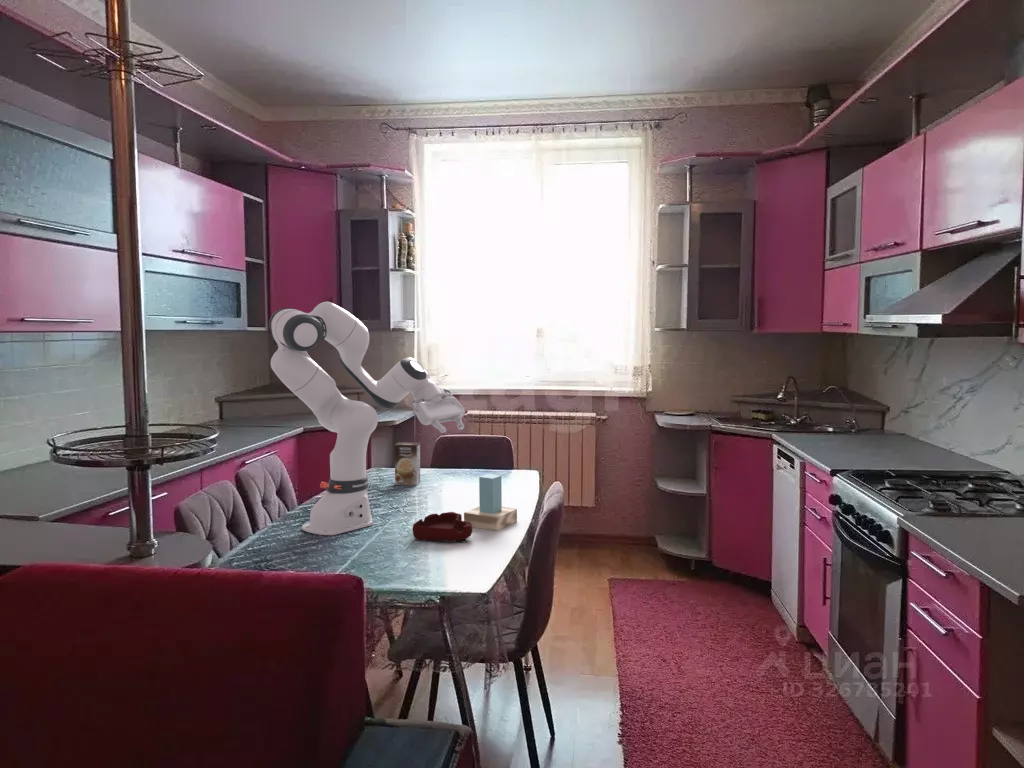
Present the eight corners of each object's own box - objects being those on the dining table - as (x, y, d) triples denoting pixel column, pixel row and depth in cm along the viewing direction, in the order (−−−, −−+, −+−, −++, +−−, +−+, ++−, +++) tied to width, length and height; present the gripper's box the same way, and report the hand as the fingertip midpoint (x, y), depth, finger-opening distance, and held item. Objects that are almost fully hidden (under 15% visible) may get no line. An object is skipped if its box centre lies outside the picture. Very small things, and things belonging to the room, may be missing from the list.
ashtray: (406, 532, 208) (405, 516, 208) (457, 526, 214) (457, 510, 214) (420, 550, 192) (420, 532, 191) (475, 543, 198) (475, 526, 197)
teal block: (492, 513, 213) (492, 478, 212) (479, 511, 215) (479, 476, 214) (501, 510, 217) (501, 475, 216) (488, 507, 220) (488, 473, 219)
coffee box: (394, 485, 269) (393, 444, 267) (398, 481, 275) (397, 441, 274) (417, 485, 268) (416, 445, 266) (421, 482, 274) (420, 442, 273)
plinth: (496, 531, 208) (496, 518, 208) (464, 525, 214) (463, 512, 214) (516, 521, 218) (516, 508, 218) (485, 516, 225) (485, 504, 224)
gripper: (414, 394, 220) (438, 427, 216) (454, 390, 237) (477, 420, 233) (404, 407, 223) (427, 440, 218) (444, 402, 240) (466, 432, 235)
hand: (453, 430), depth 226 cm, fingers open, 8 cm apart
